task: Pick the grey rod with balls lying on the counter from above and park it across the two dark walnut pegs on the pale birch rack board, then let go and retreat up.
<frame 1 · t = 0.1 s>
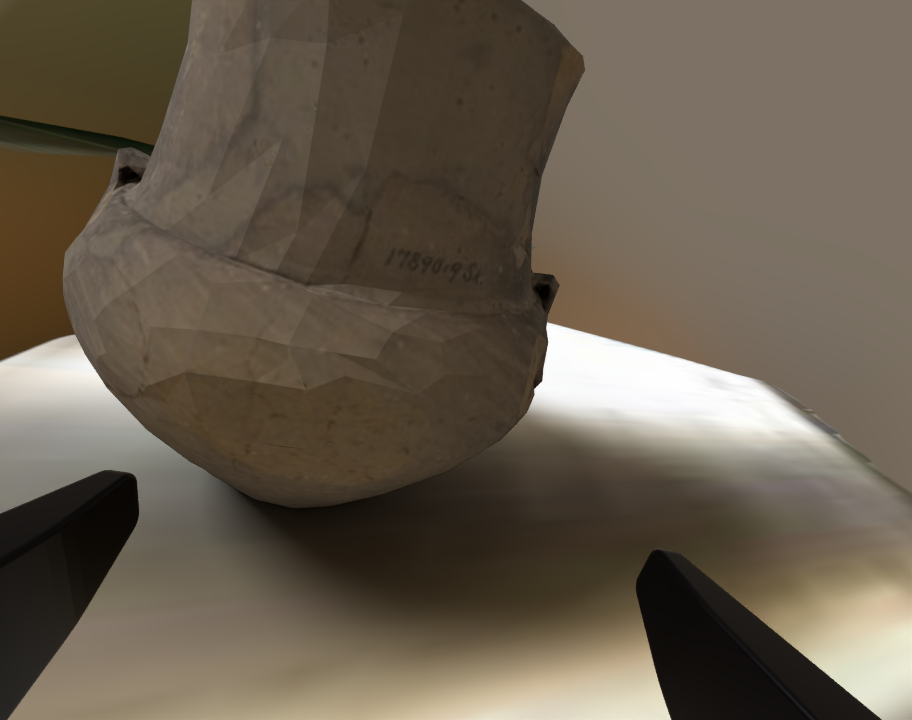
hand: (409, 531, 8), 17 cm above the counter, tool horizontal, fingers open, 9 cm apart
ceramic pot: (324, 454, 35), on the counter
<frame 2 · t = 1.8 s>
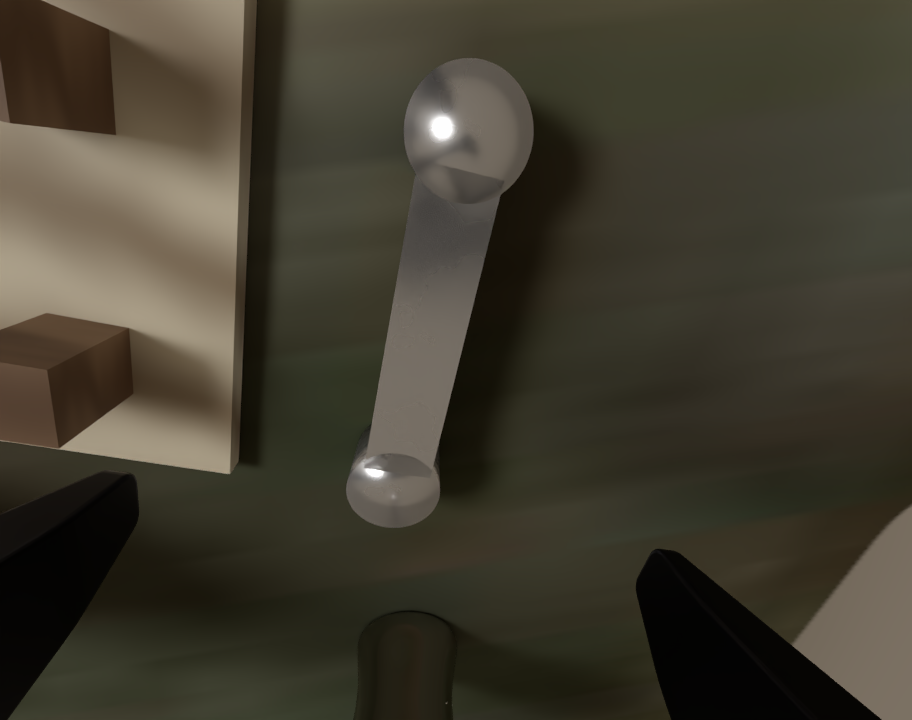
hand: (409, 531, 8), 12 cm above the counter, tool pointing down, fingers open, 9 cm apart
beer glass: (408, 640, 27), on the counter
grey rod with balls: (426, 317, 19), on the counter
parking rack: (98, 227, 17), on the counter
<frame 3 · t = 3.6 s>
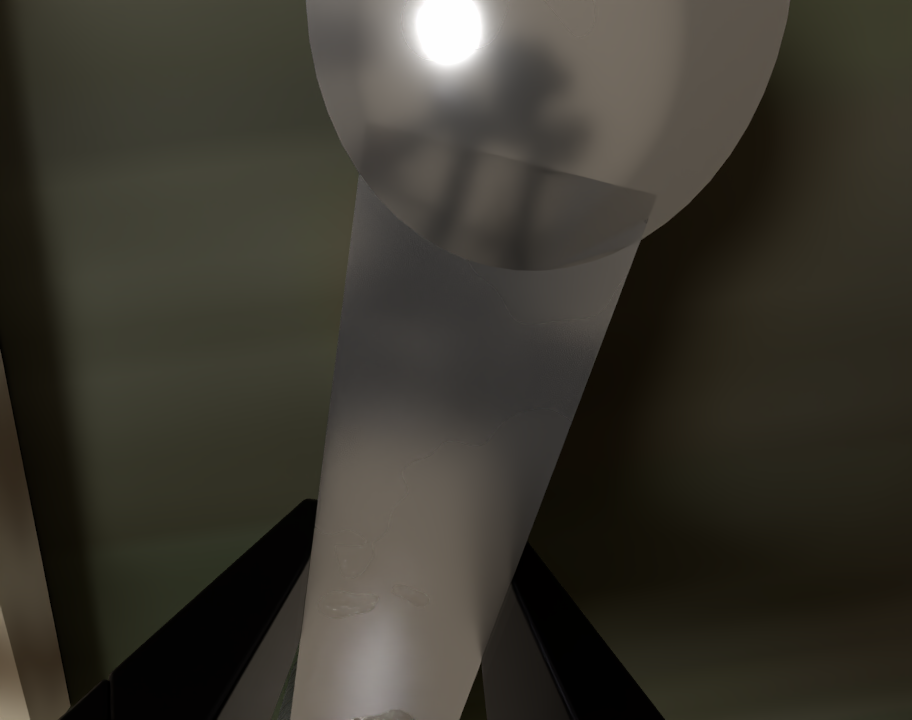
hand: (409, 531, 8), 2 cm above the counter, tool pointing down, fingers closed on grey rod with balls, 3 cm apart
grey rod with balls: (414, 473, 9), on the counter, touching gripper
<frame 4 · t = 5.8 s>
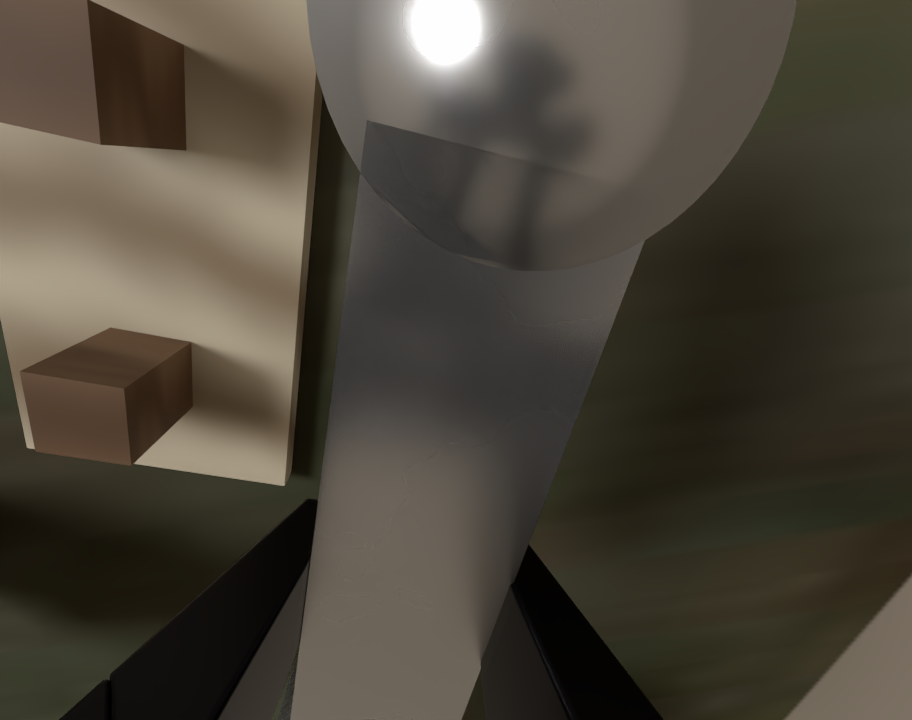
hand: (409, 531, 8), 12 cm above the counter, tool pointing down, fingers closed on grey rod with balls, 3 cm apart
beer glass: (451, 649, 27), on the counter
grey rod with balls: (414, 475, 9), point 10 cm above the counter, touching gripper
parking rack: (161, 241, 17), on the counter
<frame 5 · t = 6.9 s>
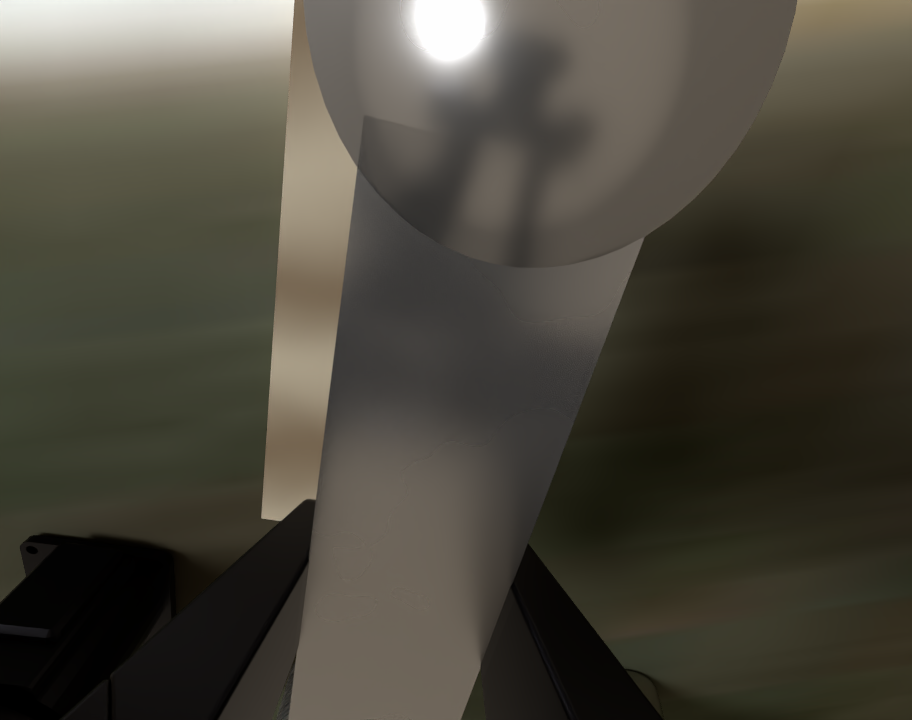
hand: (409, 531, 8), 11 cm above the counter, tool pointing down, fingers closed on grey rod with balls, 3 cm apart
beer glass: (607, 695, 28), on the counter
grey rod with balls: (413, 474, 9), point 9 cm above the counter, touching gripper
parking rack: (427, 327, 17), on the counter
when the fingers open (8 cm above the counter, at t = 7.9 s): grey rod with balls drops 1 cm, resting on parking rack.
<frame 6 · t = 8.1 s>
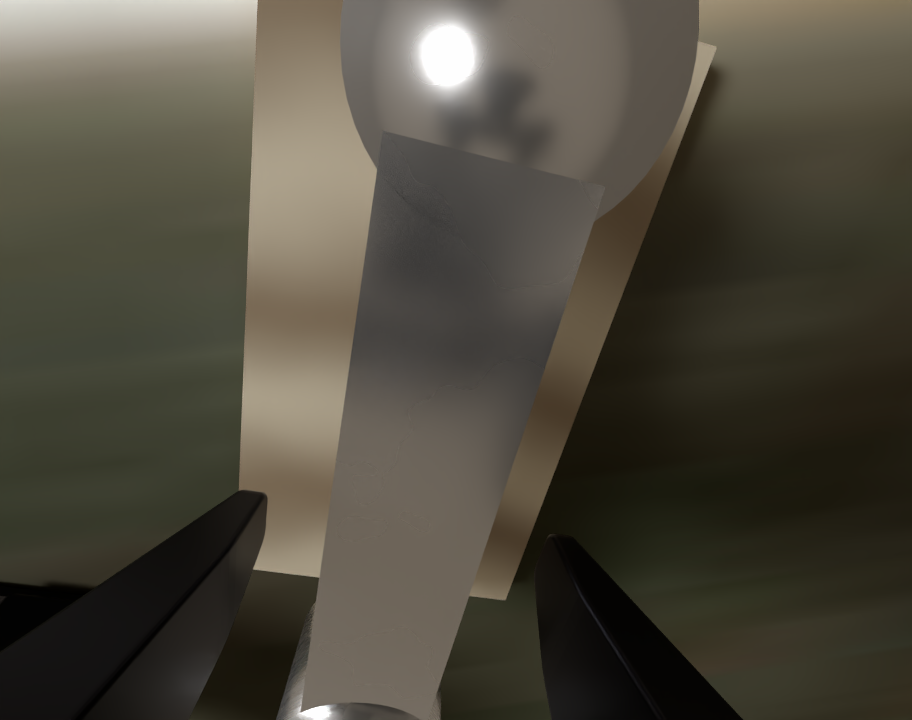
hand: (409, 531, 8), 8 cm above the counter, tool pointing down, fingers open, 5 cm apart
grey rod with balls: (416, 434, 10), point 5 cm above the counter, touching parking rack
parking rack: (423, 353, 15), on the counter
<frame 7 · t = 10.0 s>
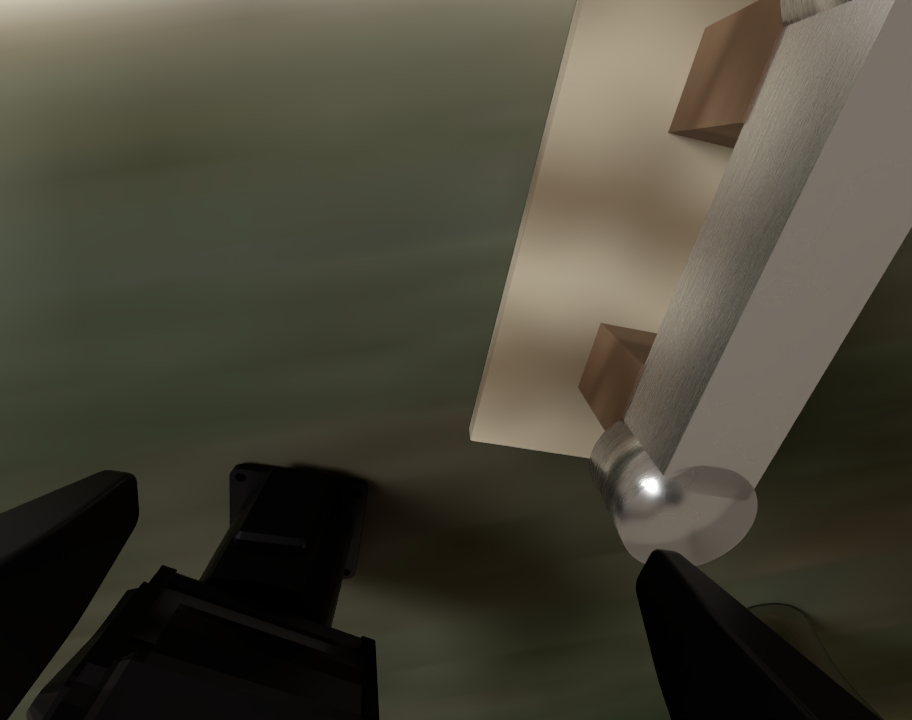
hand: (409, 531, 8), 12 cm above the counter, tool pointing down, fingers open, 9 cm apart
beer glass: (755, 632, 28), on the counter
grey rod with balls: (732, 266, 13), point 5 cm above the counter, touching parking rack
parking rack: (656, 239, 17), on the counter
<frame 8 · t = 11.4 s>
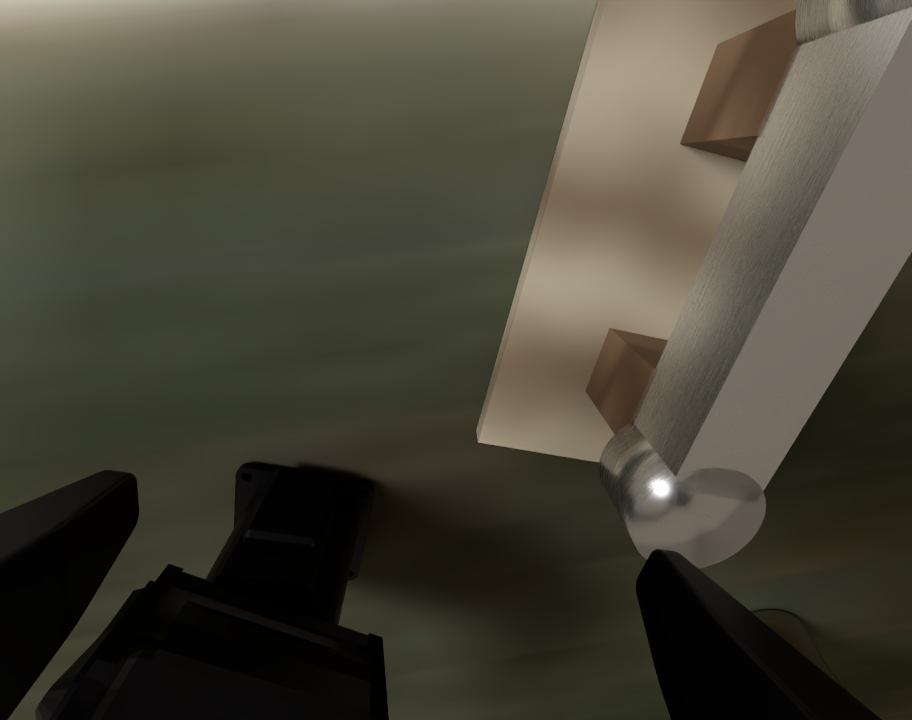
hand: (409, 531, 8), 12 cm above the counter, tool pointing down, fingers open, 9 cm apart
beer glass: (752, 637, 28), on the counter
grey rod with balls: (743, 274, 13), point 5 cm above the counter, touching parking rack
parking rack: (665, 247, 18), on the counter
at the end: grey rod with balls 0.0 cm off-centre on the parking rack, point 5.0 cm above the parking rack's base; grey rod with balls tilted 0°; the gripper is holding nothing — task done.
